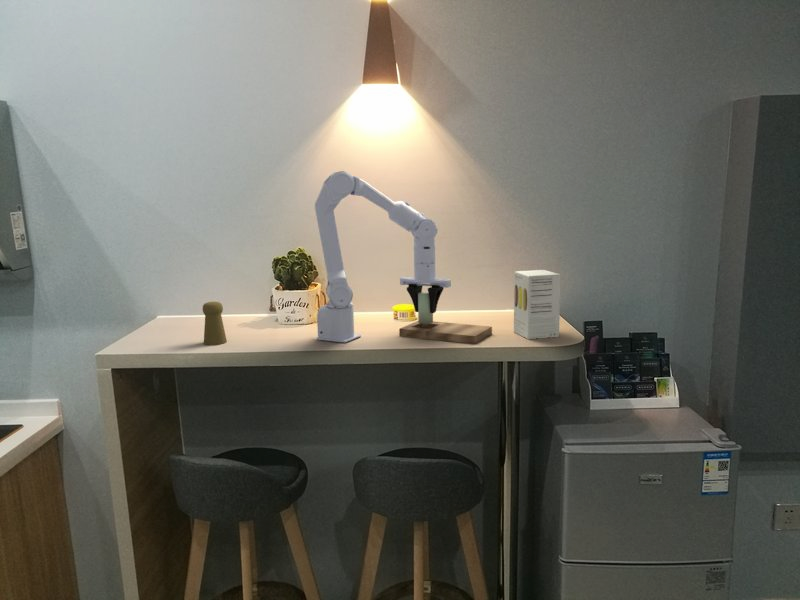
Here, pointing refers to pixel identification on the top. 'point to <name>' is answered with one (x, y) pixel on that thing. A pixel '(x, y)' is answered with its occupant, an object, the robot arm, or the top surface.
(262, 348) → the top surface
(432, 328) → the walnut board
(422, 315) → the peg
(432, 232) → the robot arm
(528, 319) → the supplement box
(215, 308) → the cork
